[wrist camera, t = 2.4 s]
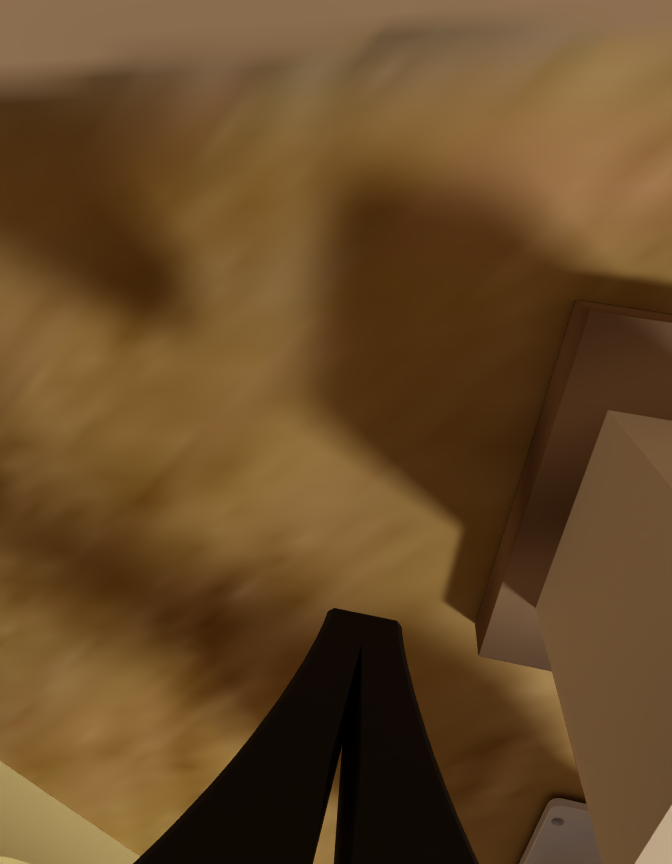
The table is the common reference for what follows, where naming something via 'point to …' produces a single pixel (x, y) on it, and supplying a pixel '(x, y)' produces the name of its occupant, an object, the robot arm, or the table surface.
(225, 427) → the table surface
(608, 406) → the brown flat slab
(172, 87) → the table surface
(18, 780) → the slatted curved stool
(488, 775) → the table surface
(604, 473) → the carton
